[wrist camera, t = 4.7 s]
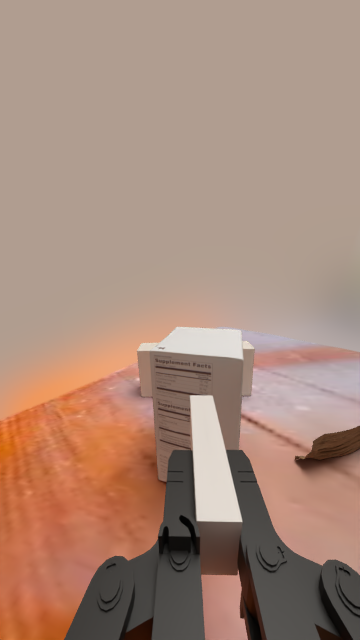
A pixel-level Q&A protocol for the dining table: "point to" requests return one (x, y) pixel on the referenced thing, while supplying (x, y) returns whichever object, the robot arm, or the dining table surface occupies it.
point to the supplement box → (195, 386)
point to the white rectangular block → (146, 370)
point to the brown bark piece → (335, 444)
